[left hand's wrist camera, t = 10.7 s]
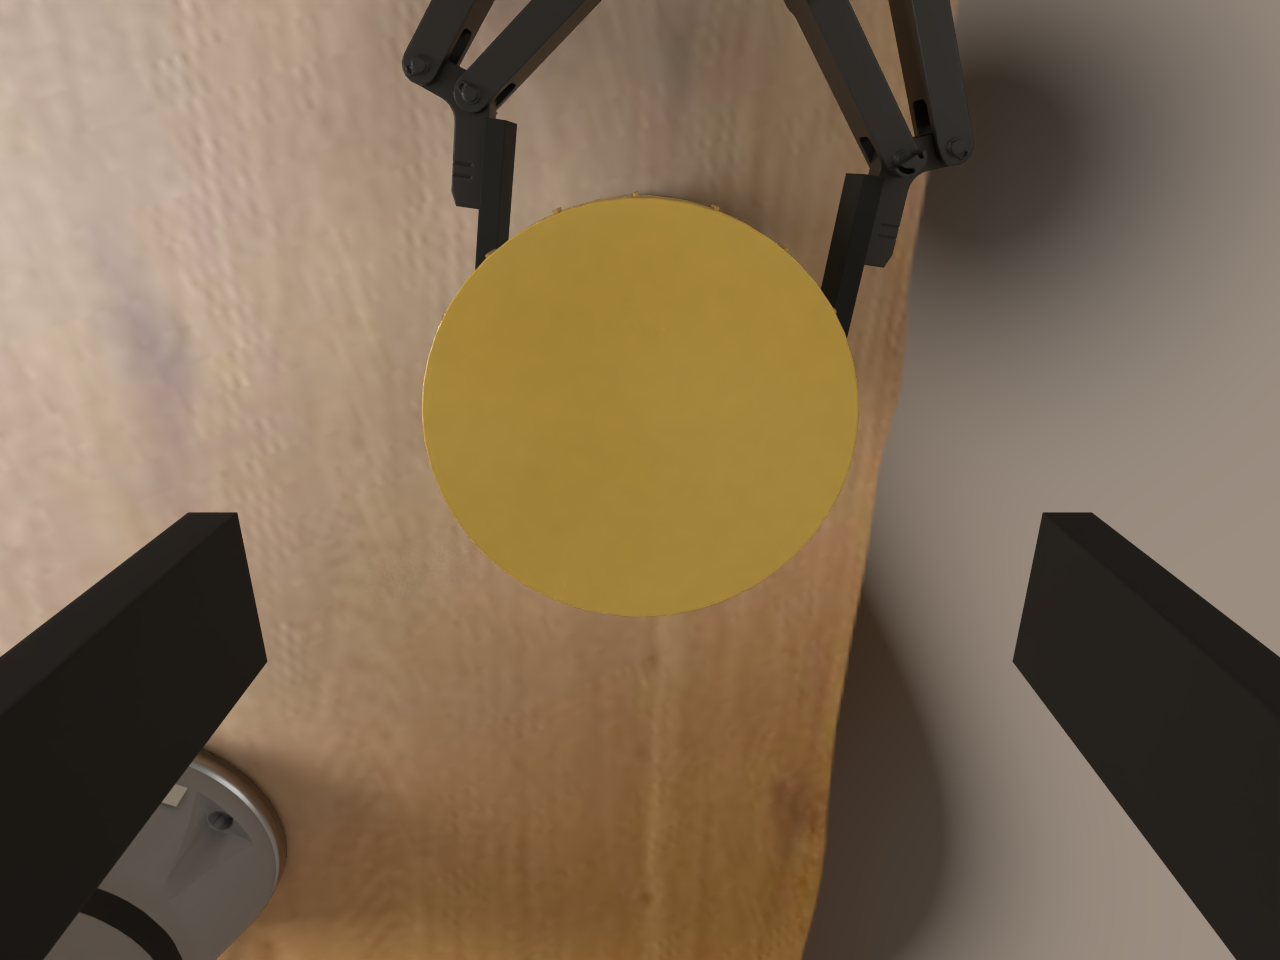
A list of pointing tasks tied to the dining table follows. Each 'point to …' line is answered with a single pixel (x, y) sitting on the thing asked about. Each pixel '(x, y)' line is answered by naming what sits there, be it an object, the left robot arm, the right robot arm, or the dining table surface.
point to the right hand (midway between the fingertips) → (659, 324)
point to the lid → (640, 406)
